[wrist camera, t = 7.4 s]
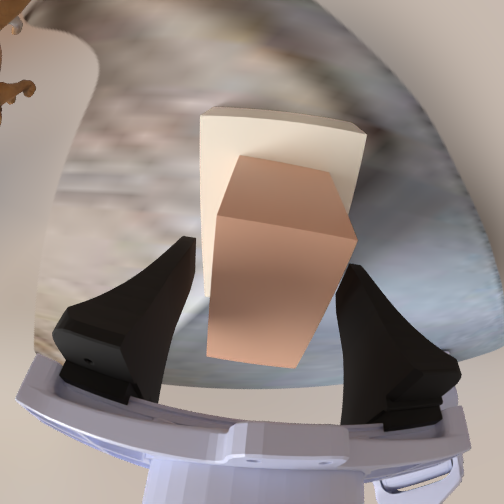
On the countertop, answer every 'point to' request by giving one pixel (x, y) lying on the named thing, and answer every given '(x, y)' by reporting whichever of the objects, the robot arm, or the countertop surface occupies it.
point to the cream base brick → (270, 155)
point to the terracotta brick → (275, 261)
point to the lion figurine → (3, 12)
